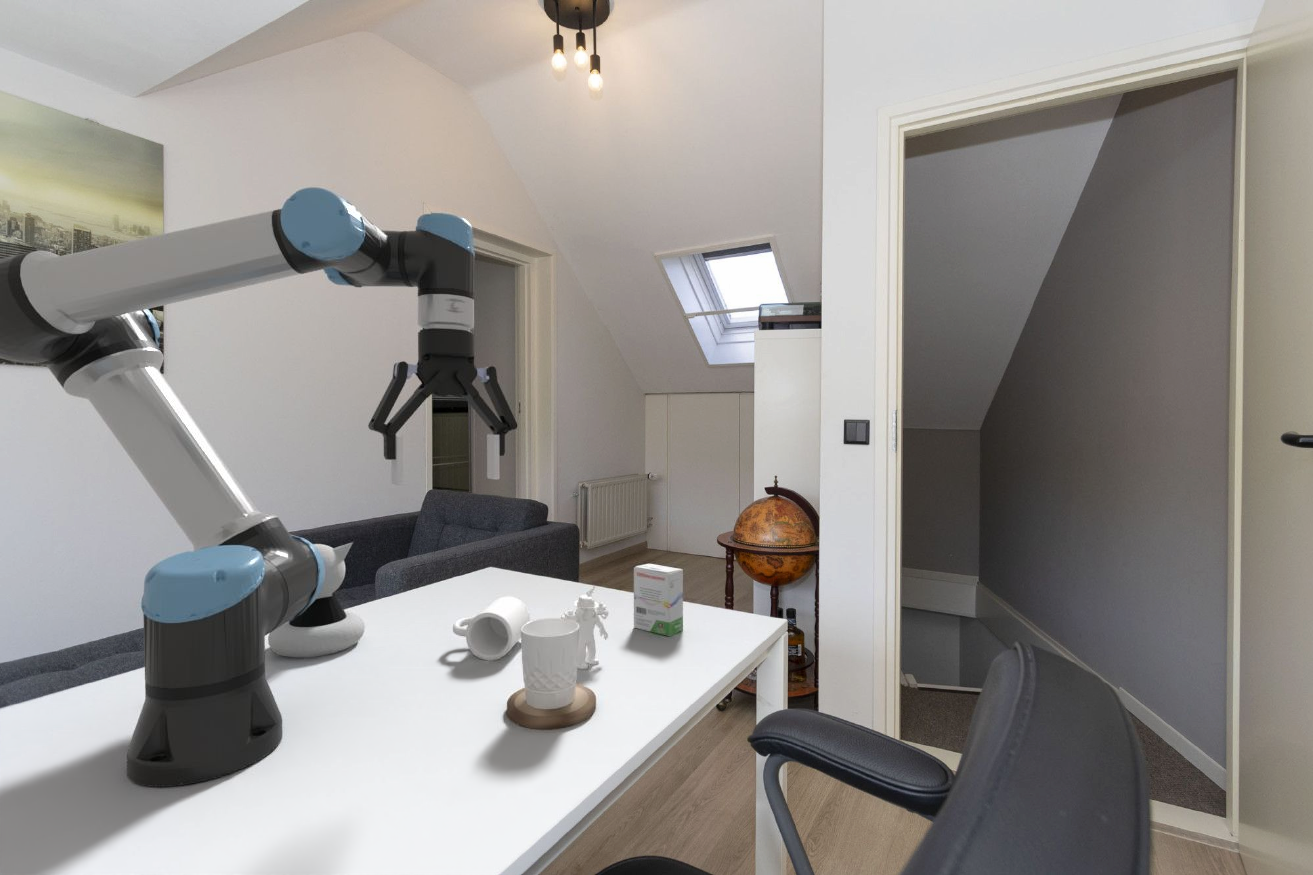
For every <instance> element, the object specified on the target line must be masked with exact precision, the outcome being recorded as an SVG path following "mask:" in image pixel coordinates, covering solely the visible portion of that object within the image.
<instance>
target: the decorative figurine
mask: <svg viewBox="0 0 1313 875" xmlns="http://www.w3.org/2000/svg"><path fill="white" fill-rule="evenodd" d="M312 544H313V545H314V546H315V547H316V548H317V550H318V551H319V552H320V554H321V556H322V559H323V562H324V566H325V579H324V583H323V587H322V589H321V592H320V594H319V595H318V597H317V598H316V600H315V601H314V602H313V603H312V604H311V605H310V606H309V607H308V608H307V609H306V610H305V611H304V612H303V613H302V614H301V615H299V616H297V617H296V618H294V619H293V620H291V621H289V622H287V623H285V624H283V625H282V626H280V627H278V628H277V629H275V630H274V631H272V632H270V633H269V634H268V636H267V639H268V640H267V641H268V645H269V648H270V649H271V650H272V652H274V653H275V654H278V655H279V656H283V657H286V658H287V657H288V658H295V659H297V658H300V659H301V658H316V657H322V656H326V655H331V654H335V653H339V652H342V651H344V650H346V649H349V648H351V647H352V646H354V645H356V644H357V643H358V642H359V641H360V640H361V638H362V637H363V636H364V633H365V629H366V627H365V625H366V624H365V622H364V620H363V618H362V617H361V616H360V615H358V614H357V613H355V612H353V611H348V610H344V608H343V605H342V604H341V602H340V601H339V599H338V597H337V595H336V593H335V592H336V590H338V589H339V588H340V586H342V584H343V581H344V579H345V577H346V576H345V575H346V562H345V559H346V556H347V555H348V553H349V551H350V549H351V548H352V545H353V544H354V541H352V542H349V543H346V544H343V545H340V546H339V545H338V546H337V547H334V548H333V547H331V546H330V545H326V544H322V543H312Z"/></svg>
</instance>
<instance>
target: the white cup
mask: <svg viewBox="0 0 1313 875" xmlns="http://www.w3.org/2000/svg"><path fill="white" fill-rule="evenodd" d="M520 640H521V661H522V662H521V664H522V676H523V679H522V680H523V683H524V688H525V700H526V703H527V705H529V706H531V707H533V708H537V709H543V710H546V709H557V708H561V707H565V706H567V705H569V704H570V703H572V702H573V701H574V698H575V695H576V684H577V678H578V668H577V665H578V647H579V624H578V623H577V622H575V621H572V620H569V619H562V618H561V617H554V618H551V617H549V618H540V619H535V620H530V622H528V623H526V624H524V625H523V626H522V627H521V638H520Z"/></svg>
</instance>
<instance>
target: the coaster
mask: <svg viewBox="0 0 1313 875" xmlns="http://www.w3.org/2000/svg"><path fill="white" fill-rule="evenodd" d="M596 709H597V696H596V694H595V692H594V691H593V690H592V689H590V688H589V687H588V686H584V685H583V684H579V683H576V695H575V698H574V701H573V702H572V703H570V704H569V705H567V706H565V707H561V708H557V709H546V710H543V709H537V708H533V707H531V706H529V705H527V703H526V700H525V687H523V688H521V689H519V690H517V691H515V692H514V693H513V694H511V695H510V696H509V698H508V699H507V701H506V715H507V718H508V719H509V720H510V722H512V723H514V724H516V725H518V726H520V727H523V728H528V729H533V730H557V729H564V728H568V727H572V726H575V725H578V724H580V723H582V722H584V721H587V720H588V719H589V718H591V716H593V714H594V713H595V712H596Z"/></svg>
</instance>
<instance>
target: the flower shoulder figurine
mask: <svg viewBox="0 0 1313 875" xmlns="http://www.w3.org/2000/svg"><path fill="white" fill-rule="evenodd" d="M594 591H595V586H592V588H591V589H590V590H588V591H586V594H583V595H579V597H578V599H577V600H575V601H574V603H573V604H574V606H575V607H576V610H575V611H574V610H570V608H569V609H568V611H564V613H563V614H564V615H561V617H560V618H562V619H569V620H572V621H575V622H577V623H578V624H579V647H578V665H577V669H579V670H586V669H588V668H589V665H599V663H600V661H599V659H597V657H596V653H597V652H596V651H597V648H596V640H595V634H594V629H595V627H597V628H598V631H599V635H600V637H601V638H602V637H603V639H604V640H605V641H606V640H608V638H609V637H608V636H609V633H608V631H607V629H606V627H605V625H604V623H603V622H602V620H606V618H608V615H609V610H607V606H606V603H605V602H601V601H600V602H596V601H595V600H594V599H593V598H592V594H594ZM603 615H604V616H603ZM599 616H600V617H601V618H602V620H601V619H600V617H599Z"/></svg>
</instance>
